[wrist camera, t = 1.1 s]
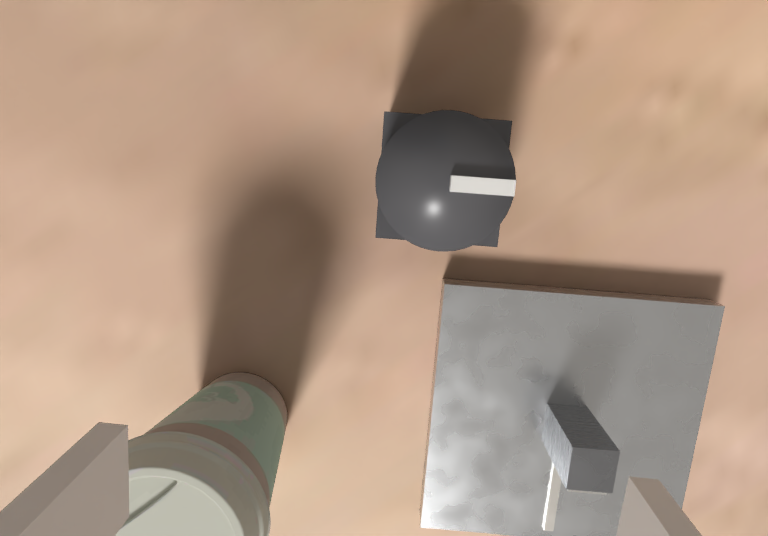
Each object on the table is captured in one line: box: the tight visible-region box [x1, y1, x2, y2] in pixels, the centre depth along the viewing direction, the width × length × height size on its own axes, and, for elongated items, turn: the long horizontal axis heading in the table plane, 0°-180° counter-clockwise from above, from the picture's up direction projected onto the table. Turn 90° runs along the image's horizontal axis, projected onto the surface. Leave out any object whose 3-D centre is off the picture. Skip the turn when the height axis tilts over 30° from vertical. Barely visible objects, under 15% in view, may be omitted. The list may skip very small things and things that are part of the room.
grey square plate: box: [420, 278, 725, 536], centre depth 31 cm, size 16×16×6 cm
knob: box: [376, 110, 516, 251], centre depth 27 cm, size 6×6×8 cm
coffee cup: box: [115, 372, 287, 536], centre depth 29 cm, size 8×8×12 cm
